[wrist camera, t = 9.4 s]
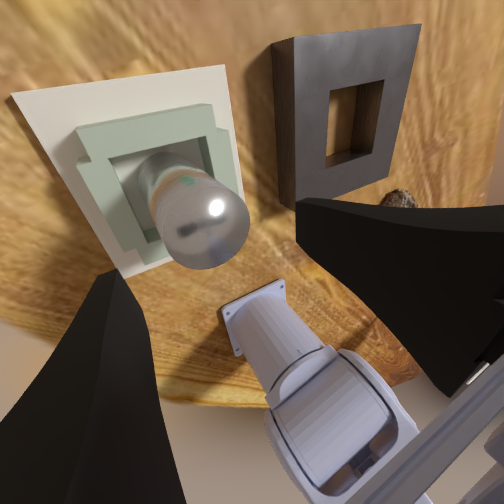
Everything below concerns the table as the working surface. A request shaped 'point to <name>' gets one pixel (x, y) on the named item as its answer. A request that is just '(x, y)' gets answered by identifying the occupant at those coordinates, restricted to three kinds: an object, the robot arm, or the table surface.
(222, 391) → the table surface
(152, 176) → the smooth metal cylinder
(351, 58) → the socket block
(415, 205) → the mineral rock
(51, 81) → the table surface
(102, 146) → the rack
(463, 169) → the table surface
